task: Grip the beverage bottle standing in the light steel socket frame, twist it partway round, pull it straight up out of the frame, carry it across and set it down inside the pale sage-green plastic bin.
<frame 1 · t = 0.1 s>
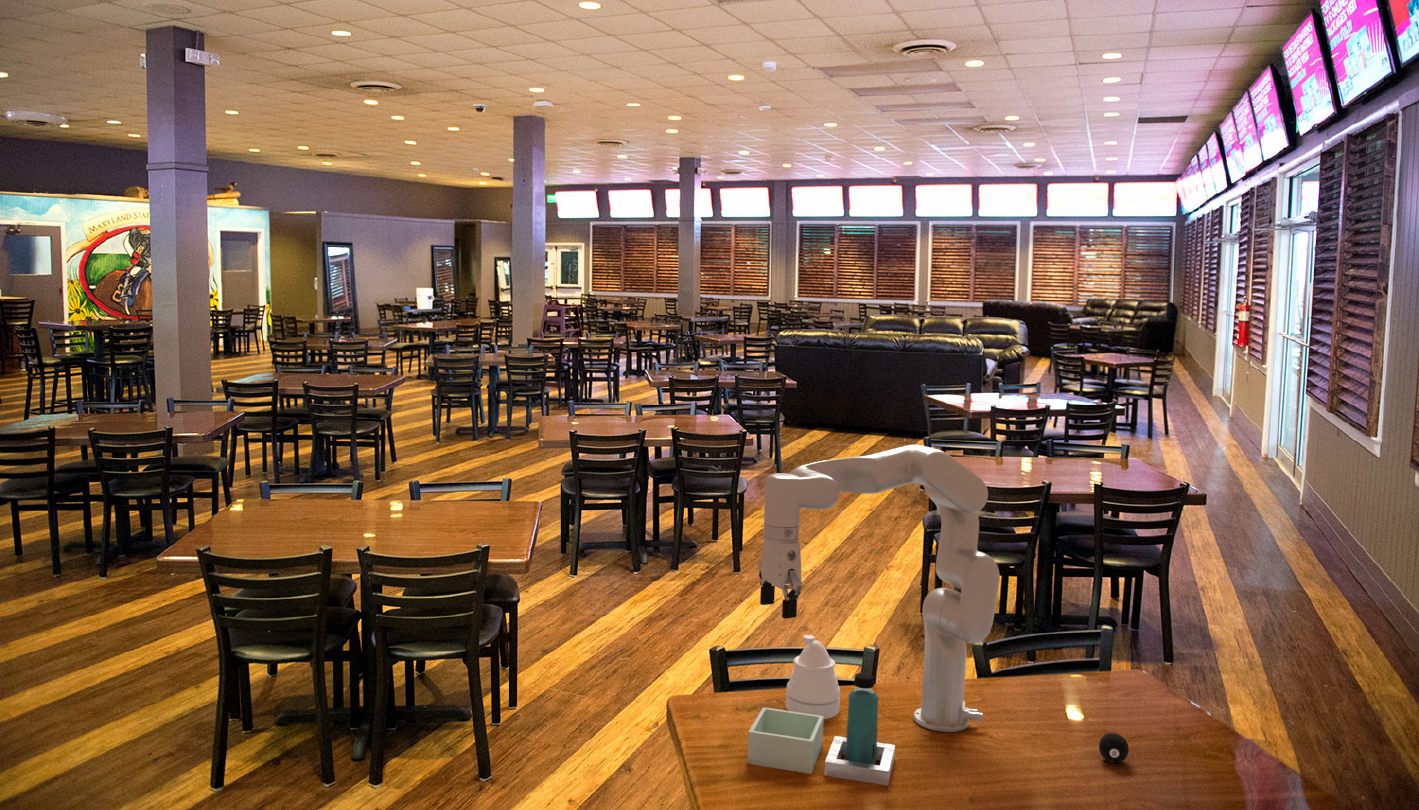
hand: (777, 610, 218), 31 cm above the table, tool pointing down, fingers open, 9 cm apart
honey pot: (812, 709, 246), on the table
beverage bottle: (860, 767, 216), resting in socket frame
bin: (785, 755, 220), on the table
billiard ball: (1112, 762, 223), on the table
socket frame: (860, 766, 216), on the table
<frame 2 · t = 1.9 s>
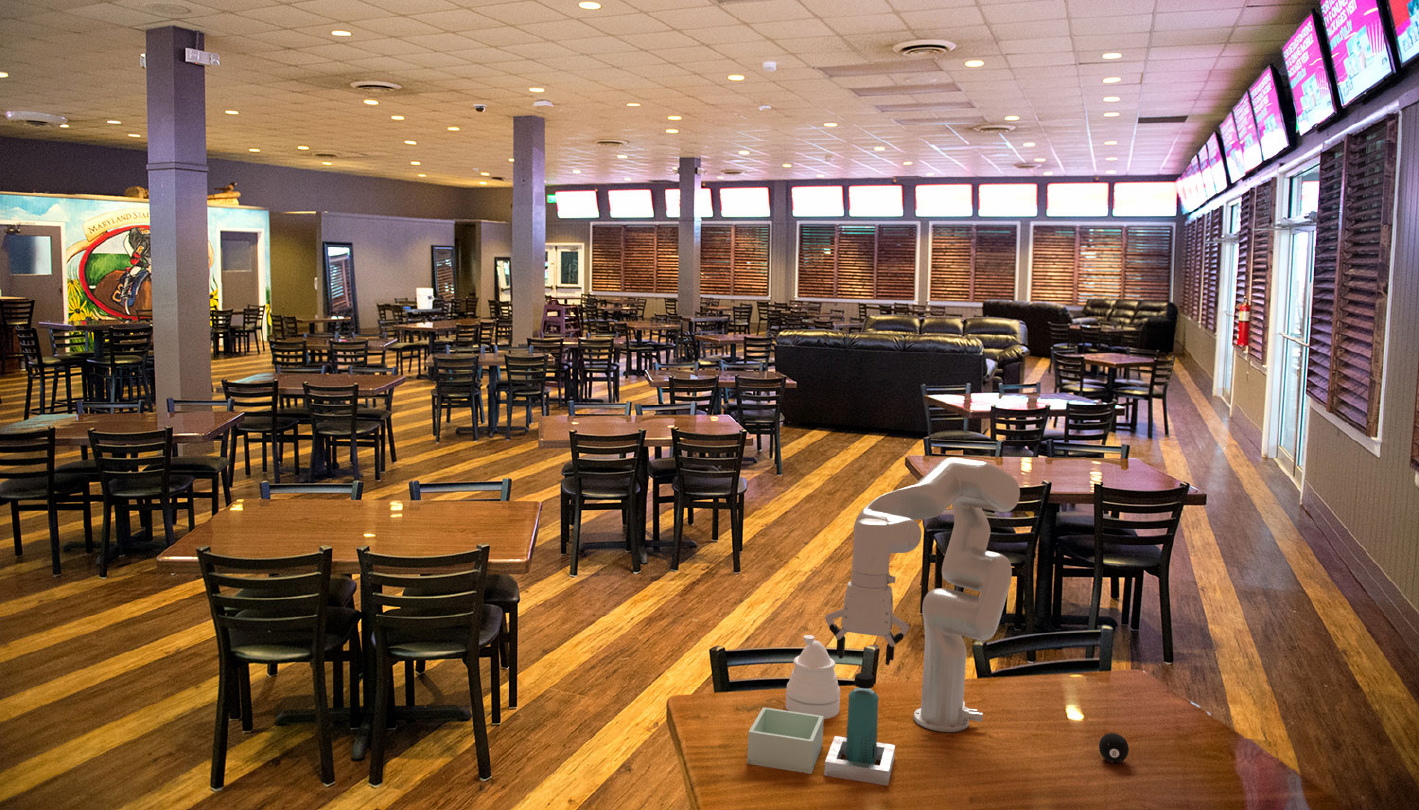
hand: (864, 659, 213), 23 cm above the table, tool pointing down, fingers open, 9 cm apart
nothing on the table moved.
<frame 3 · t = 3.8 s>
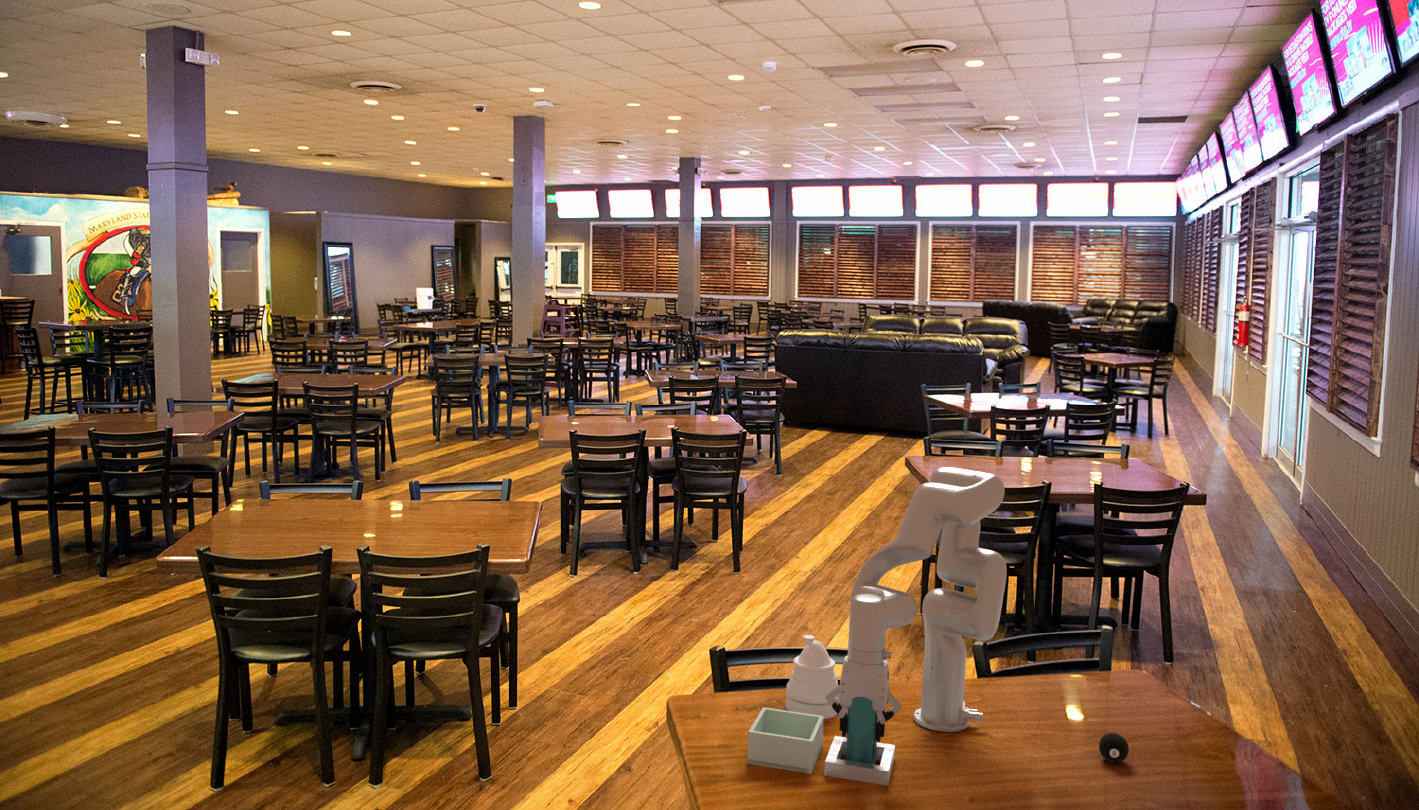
hand: (861, 736, 215), 7 cm above the table, tool pointing down, fingers closed on beverage bottle, 6 cm apart
beverage bottle: (859, 767, 216), resting in socket frame, touching gripper
everything else where it was.
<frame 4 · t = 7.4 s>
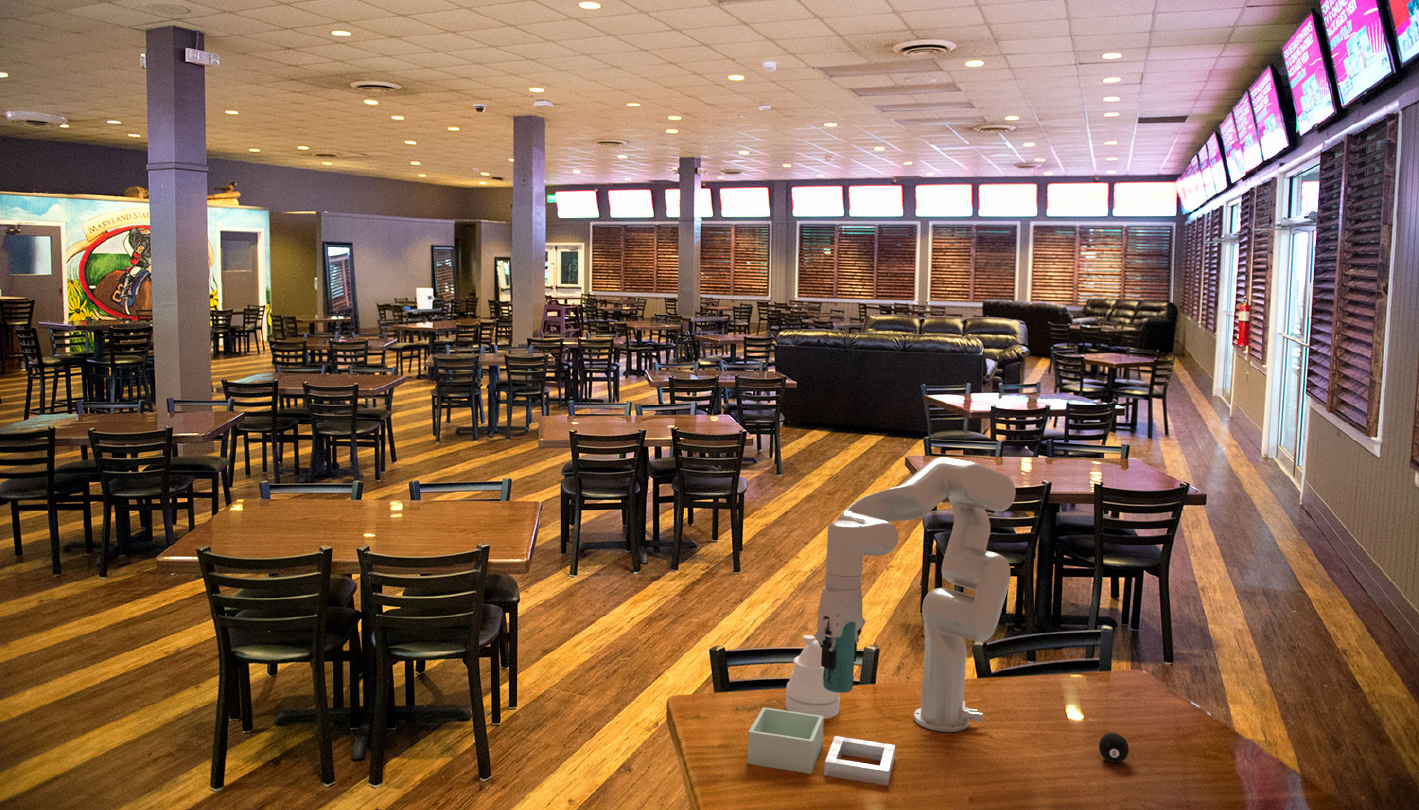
hand: (838, 663, 215), 22 cm above the table, tool pointing down, fingers closed on beverage bottle, 6 cm apart
beverage bottle: (837, 695, 215), point 15 cm above the table, touching gripper
everything else where it was.
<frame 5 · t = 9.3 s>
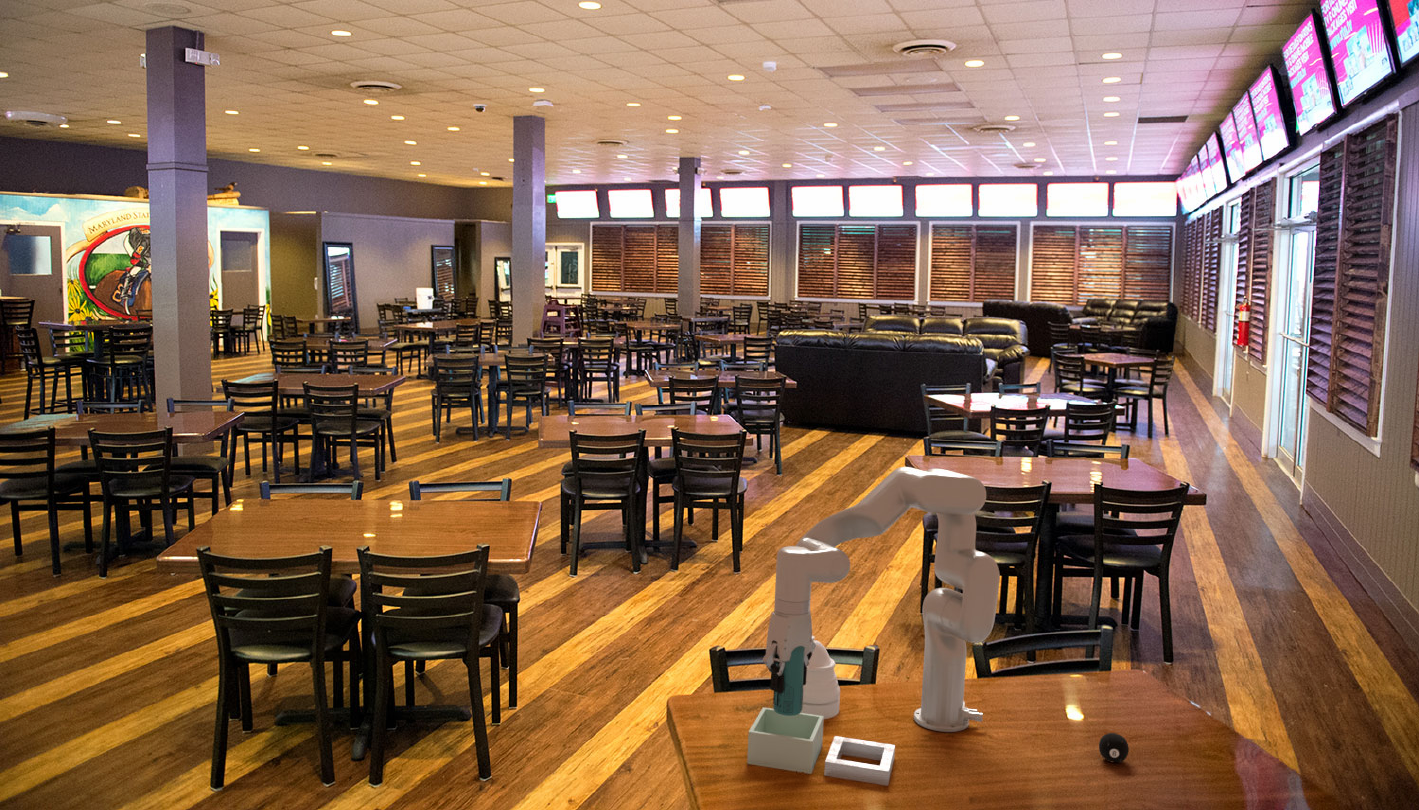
hand: (788, 686, 218), 15 cm above the table, tool pointing down, fingers closed on beverage bottle, 6 cm apart
beverage bottle: (786, 717, 219), point 8 cm above the table, touching gripper
everything else where it was.
when the fingers open (9 cm above the table, at t = 10.9 s): beverage bottle drops 1 cm, resting on bin.
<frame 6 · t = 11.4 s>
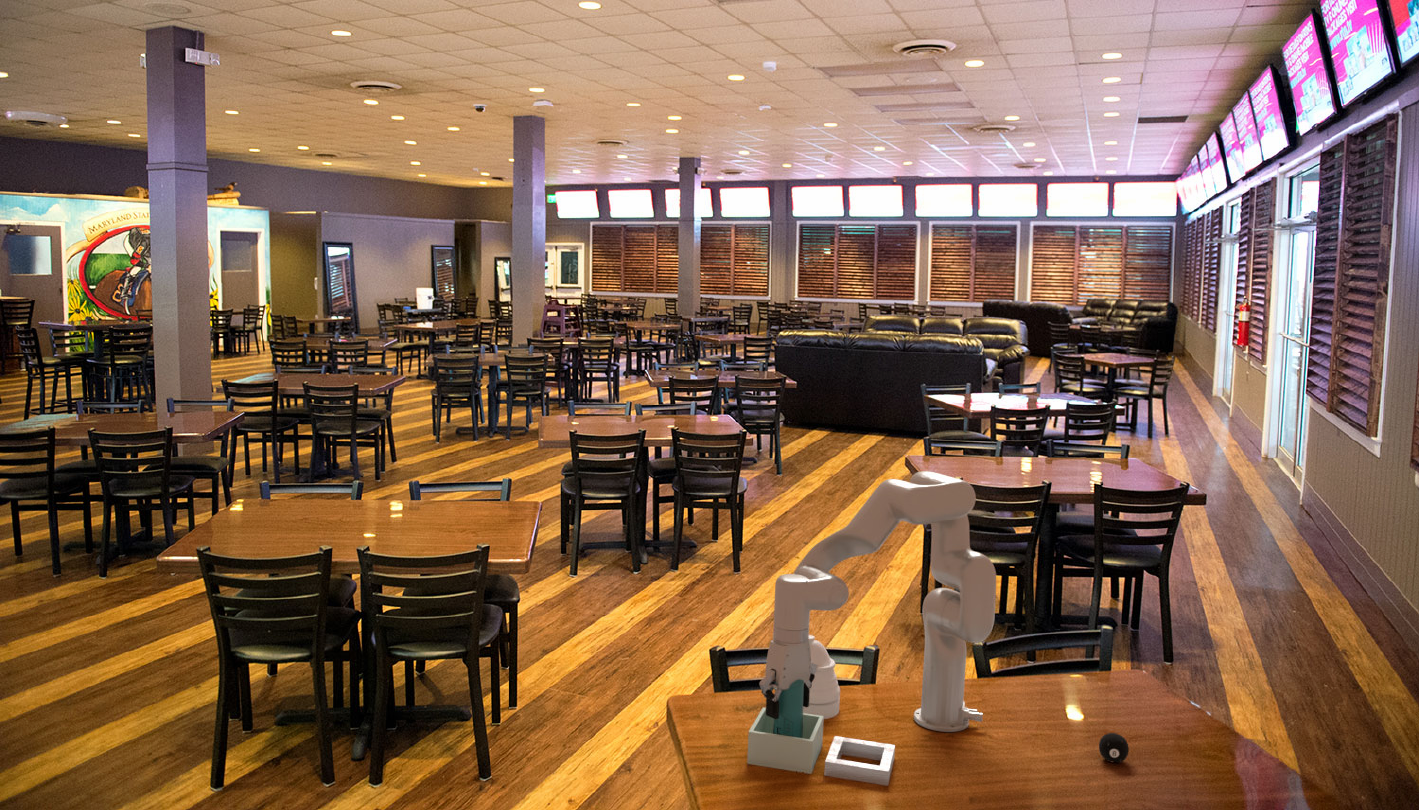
hand: (787, 711, 219), 10 cm above the table, tool pointing down, fingers open, 9 cm apart
beverage bottle: (786, 751, 220), point 1 cm above the table, touching bin
everything else where it was.
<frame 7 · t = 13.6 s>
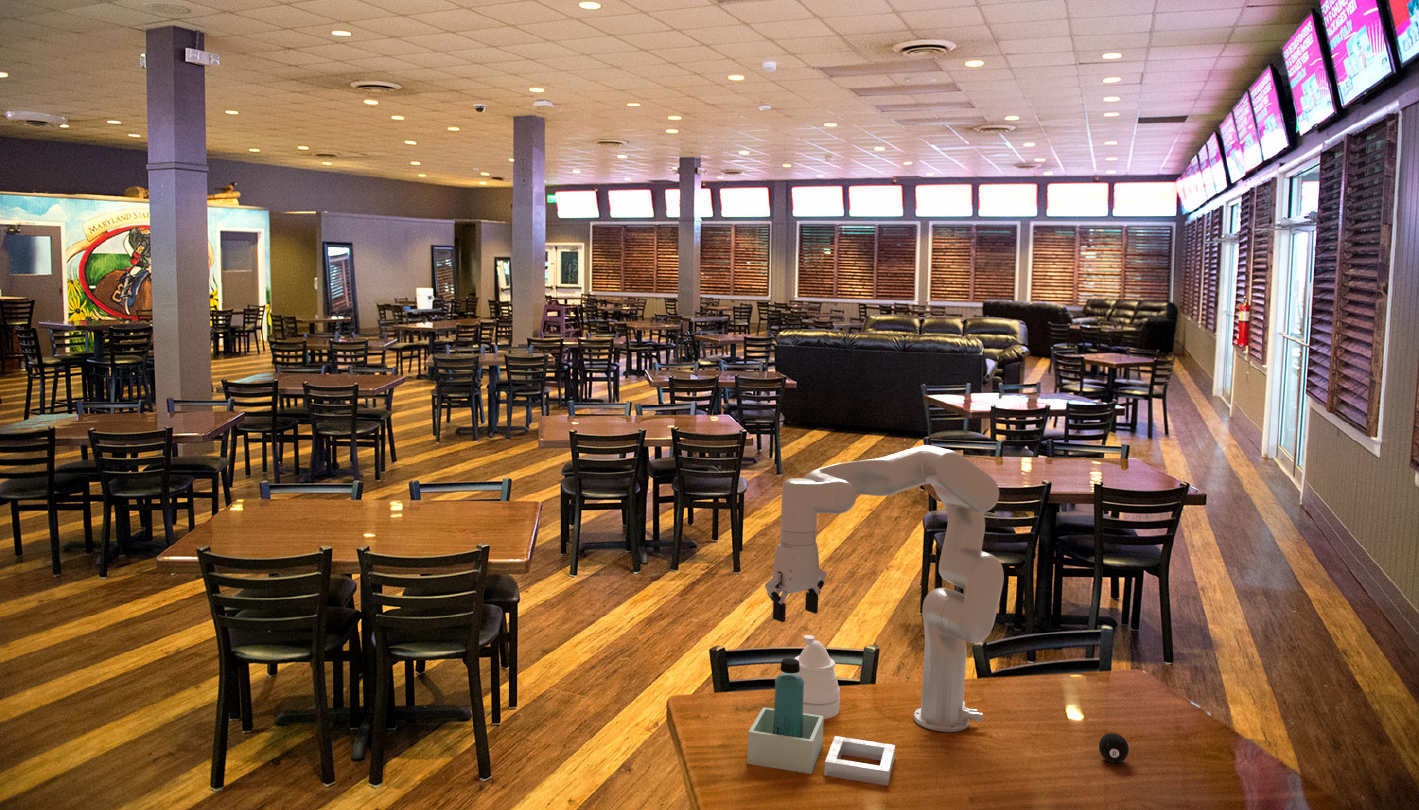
hand: (795, 616, 218), 30 cm above the table, tool pointing down, fingers open, 9 cm apart
nothing on the table moved.
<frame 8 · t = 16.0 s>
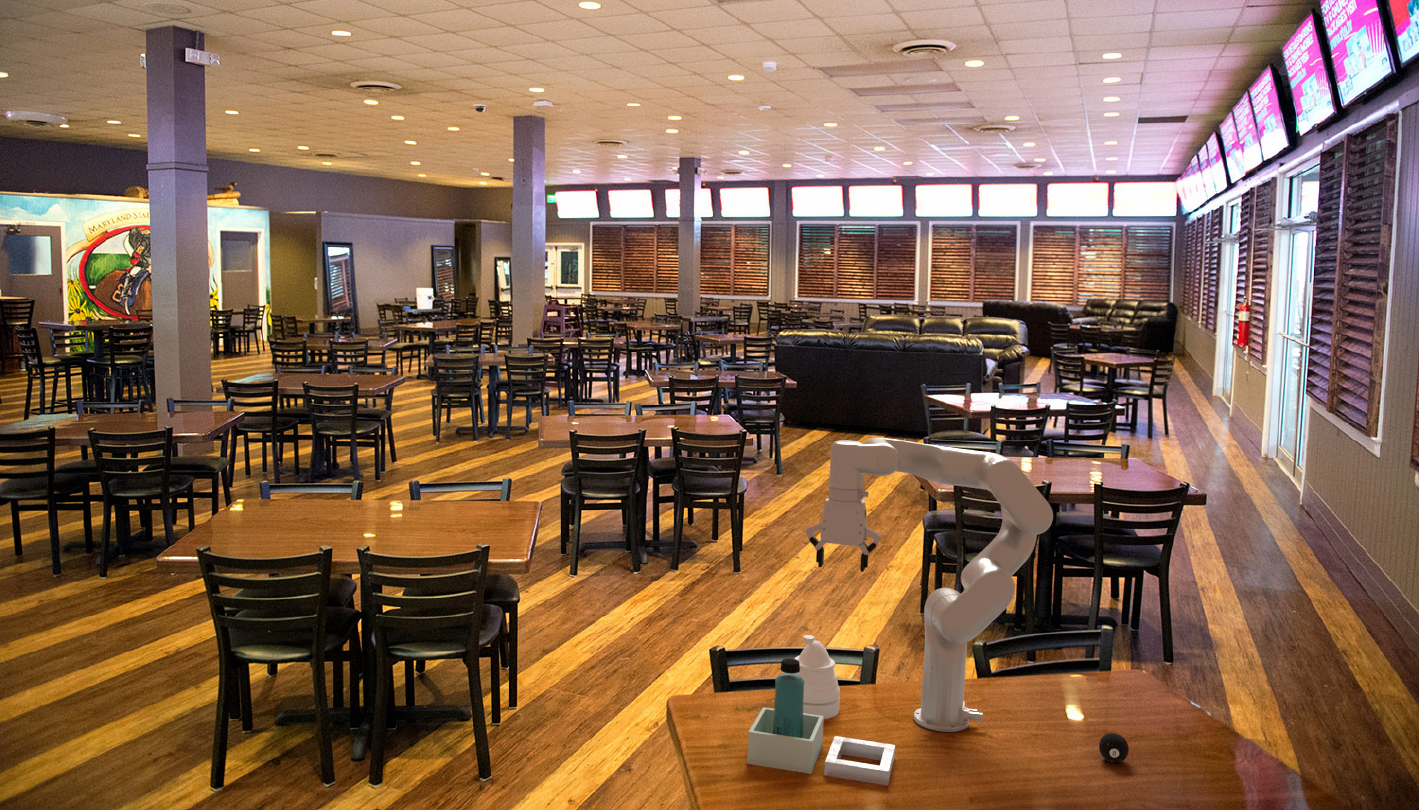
hand: (841, 568, 235), 36 cm above the table, tool pointing down, fingers open, 9 cm apart
nothing on the table moved.
at the end: beverage bottle 0.3 cm off-centre on the bin, point 0.8 cm above the bin's base; beverage bottle tilted 0°; the gripper is holding nothing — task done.
